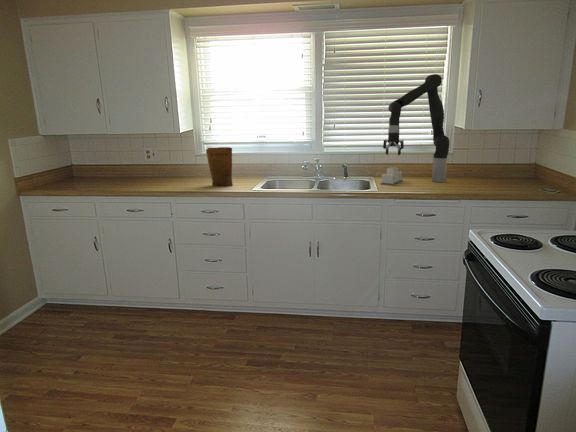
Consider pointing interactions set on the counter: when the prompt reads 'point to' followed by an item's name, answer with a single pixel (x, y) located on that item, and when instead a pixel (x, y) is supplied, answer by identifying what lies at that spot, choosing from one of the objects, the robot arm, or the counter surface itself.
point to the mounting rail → (391, 179)
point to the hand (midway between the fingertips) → (393, 154)
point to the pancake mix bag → (220, 165)
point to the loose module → (393, 172)
